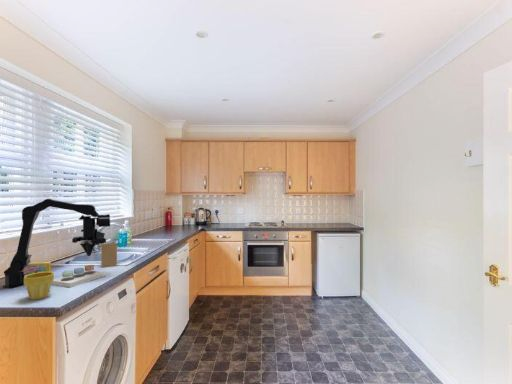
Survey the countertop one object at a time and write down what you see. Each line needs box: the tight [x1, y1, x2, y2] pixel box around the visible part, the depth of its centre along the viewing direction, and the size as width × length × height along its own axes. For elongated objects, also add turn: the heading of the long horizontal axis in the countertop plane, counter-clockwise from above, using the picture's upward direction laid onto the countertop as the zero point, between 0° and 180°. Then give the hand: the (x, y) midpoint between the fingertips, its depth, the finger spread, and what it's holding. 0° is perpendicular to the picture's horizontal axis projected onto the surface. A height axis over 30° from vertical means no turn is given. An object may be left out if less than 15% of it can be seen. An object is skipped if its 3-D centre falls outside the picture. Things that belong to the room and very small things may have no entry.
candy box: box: [22, 261, 52, 276], centre depth 148 cm, size 16×2×8 cm, turn 95°
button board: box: [51, 270, 106, 288], centre depth 144 cm, size 20×14×2 cm
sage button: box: [61, 270, 74, 277], centre depth 138 cm, size 4×4×2 cm
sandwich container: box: [100, 242, 118, 269], centre depth 176 cm, size 9×15×15 cm, turn 31°
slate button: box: [73, 267, 85, 274], centre depth 144 cm, size 4×4×2 cm
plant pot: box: [23, 271, 55, 301], centre depth 120 cm, size 10×10×10 cm
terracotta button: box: [84, 264, 95, 271], centre depth 149 cm, size 4×4×2 cm
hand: (89, 255), depth 149 cm, fingers closed
